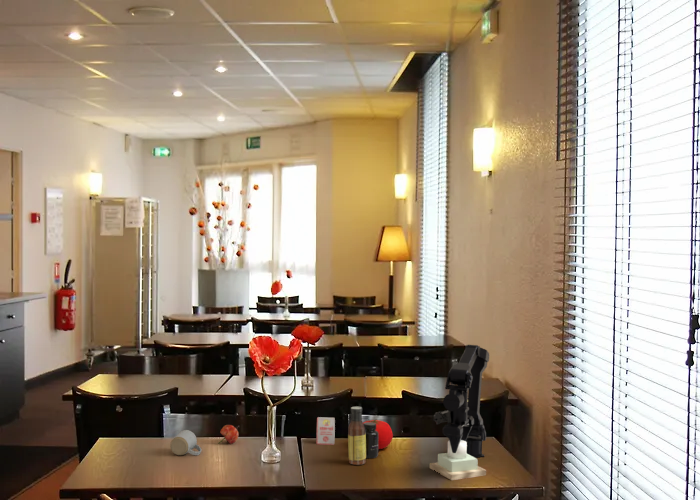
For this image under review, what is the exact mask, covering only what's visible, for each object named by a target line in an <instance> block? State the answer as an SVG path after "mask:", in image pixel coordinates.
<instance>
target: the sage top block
mask: <svg viewBox="0 0 700 500" xmlns="http://www.w3.org/2000/svg"><path fill="white" fill-rule="evenodd" d="M437 462H438V464H439V465H440V466H442V467H444V468H445V469H447V470H449V471H450V472H460V471H468V470H476V469H477V468H478V466H479V465H478V463H479V461H478V458H477V457H476V458H474V457H473V456H471V455H469V454H467V457H466V458H464V459H452V458H449V457H448V452H445V453H443V452H442V453H438V454H437Z"/></svg>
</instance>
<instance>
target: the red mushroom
mask: <svg viewBox="0 0 700 500" xmlns="http://www.w3.org/2000/svg"><path fill="white" fill-rule="evenodd" d="M238 428H240V425H237V426H234V425H232V424H226V425H223V427H222V428H221V429H220V430H219V431H220V432H219V433H220V434H221V435H222V436H223V437H224V438H222V439H221V440H220V441H219V442H218V443H217V444H220V443H222V442H223V441H224V440H225V441H227V442H228V444H231V445H232V444H234V443H235V442H237V440H238V438H239V431H238Z"/></svg>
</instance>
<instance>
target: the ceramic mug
mask: <svg viewBox="0 0 700 500" xmlns="http://www.w3.org/2000/svg"><path fill="white" fill-rule="evenodd" d="M194 449H195V450H196V451H194ZM170 450H171V452H172V453H173V454H175V456H183V455H186V454H190V455H192V456H199V455H201V453H202V447H200V445H199V444H198V440H197V436H196V435H195V433H194V432H192V431H191V430H189V429H184V430H181V431H180V432H179V433H177V434H176V435H175V436H174V437H173V438H172V440H171V442H170Z"/></svg>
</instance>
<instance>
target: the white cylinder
mask: <svg viewBox="0 0 700 500" xmlns="http://www.w3.org/2000/svg"><path fill="white" fill-rule="evenodd" d="M447 453H448V457H449V458H452V459H464V458H466V457H467V442H466V441H464V440H461V441H460V444H459V446H458V449H457V451H456V453H453V452H452V448H451V444H450V441H449V440H448V441H447Z"/></svg>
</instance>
